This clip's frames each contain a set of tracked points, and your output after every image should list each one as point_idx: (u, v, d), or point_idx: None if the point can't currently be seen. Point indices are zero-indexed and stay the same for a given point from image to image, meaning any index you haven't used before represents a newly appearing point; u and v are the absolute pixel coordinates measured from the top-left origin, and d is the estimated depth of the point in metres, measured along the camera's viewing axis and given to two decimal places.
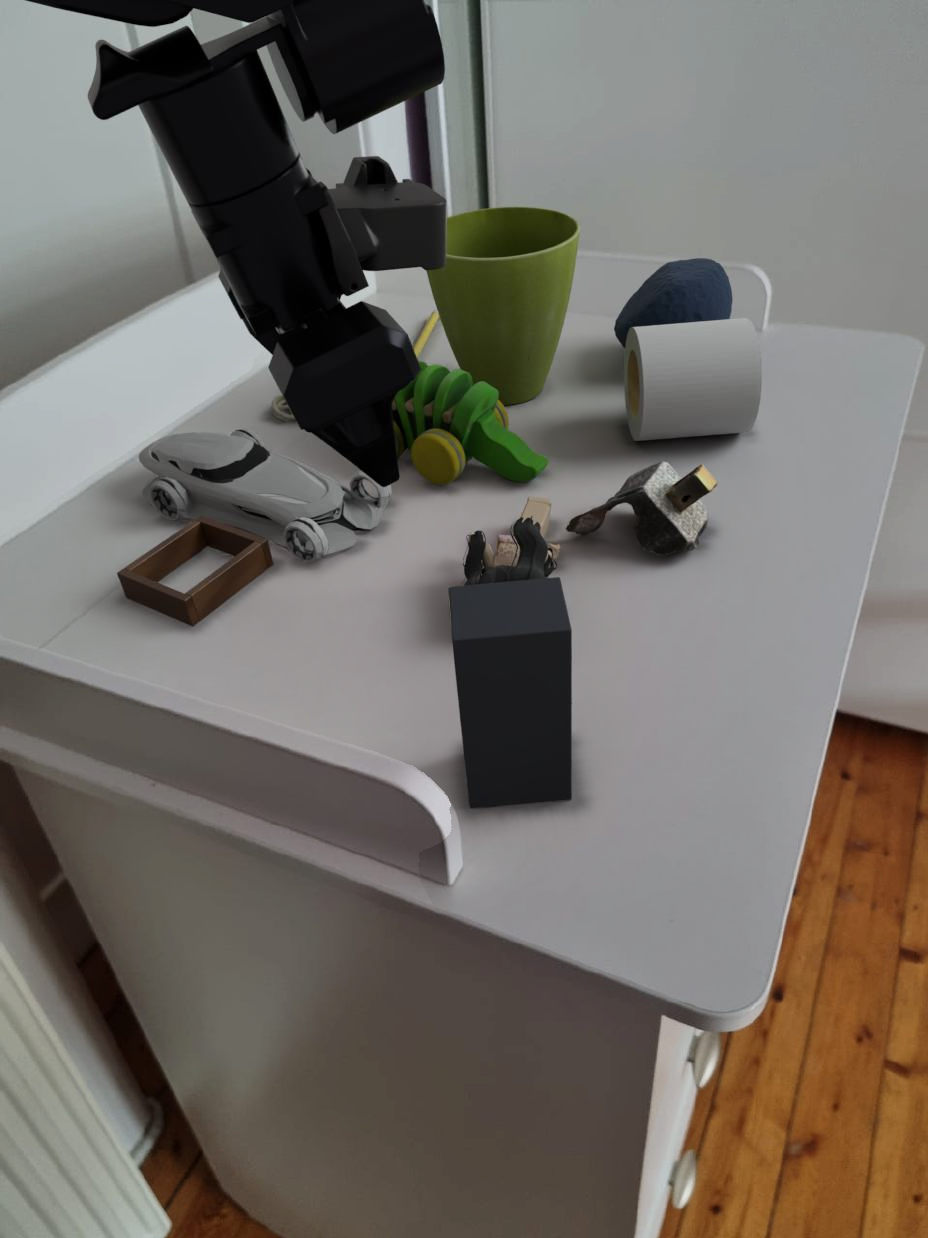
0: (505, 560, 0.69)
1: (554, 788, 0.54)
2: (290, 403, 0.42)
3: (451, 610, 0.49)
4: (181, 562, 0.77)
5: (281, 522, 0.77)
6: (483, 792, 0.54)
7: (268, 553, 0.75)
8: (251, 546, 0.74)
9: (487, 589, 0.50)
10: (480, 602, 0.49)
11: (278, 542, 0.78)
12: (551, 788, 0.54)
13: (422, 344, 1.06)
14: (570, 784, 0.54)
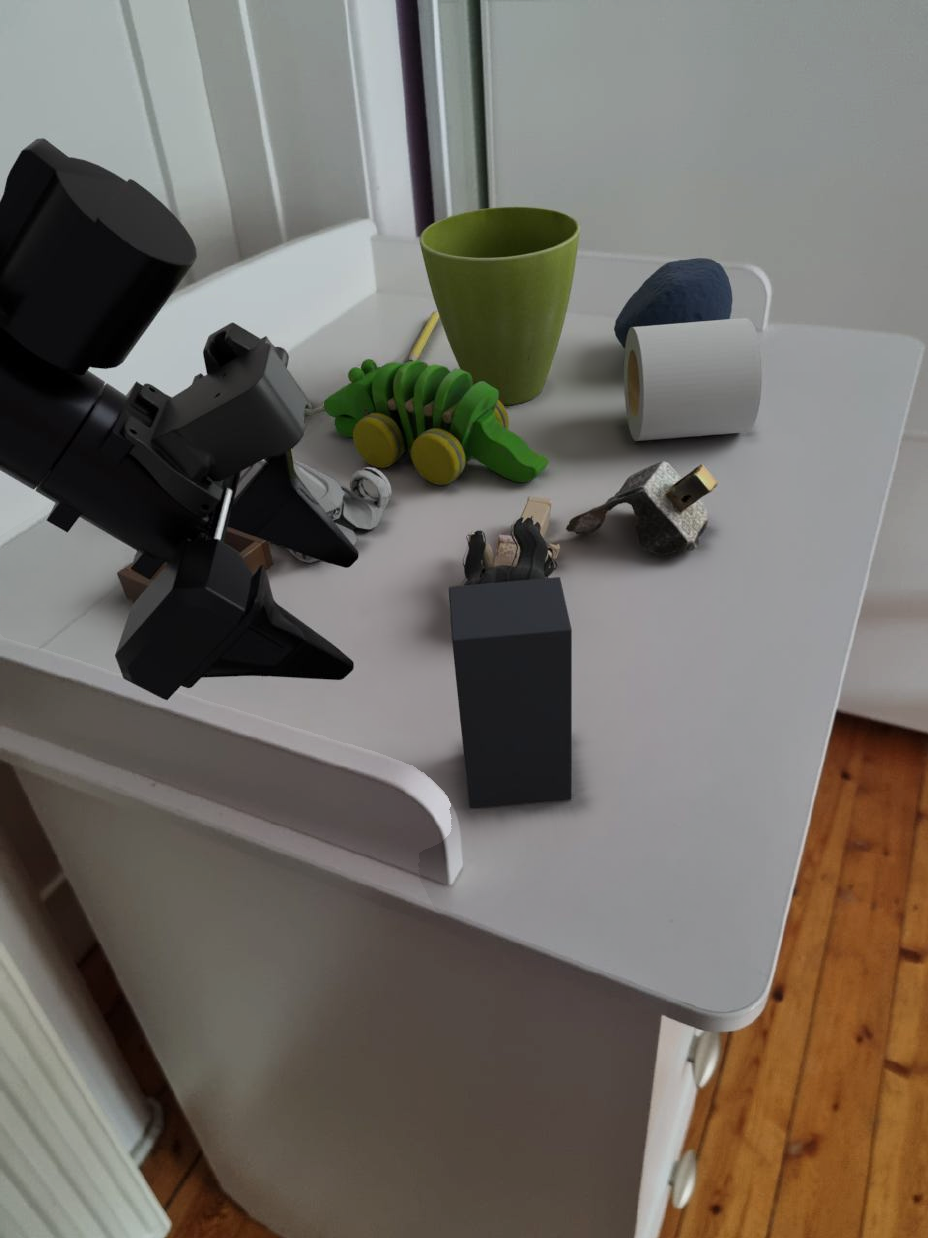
0: (505, 560, 0.69)
1: (554, 788, 0.54)
2: (133, 683, 0.39)
3: (451, 610, 0.49)
4: None
5: None
6: (483, 792, 0.54)
7: (268, 553, 0.75)
8: (251, 546, 0.74)
9: (487, 589, 0.50)
10: (480, 602, 0.49)
11: None
12: (551, 788, 0.54)
13: (422, 345, 1.06)
14: (570, 784, 0.54)
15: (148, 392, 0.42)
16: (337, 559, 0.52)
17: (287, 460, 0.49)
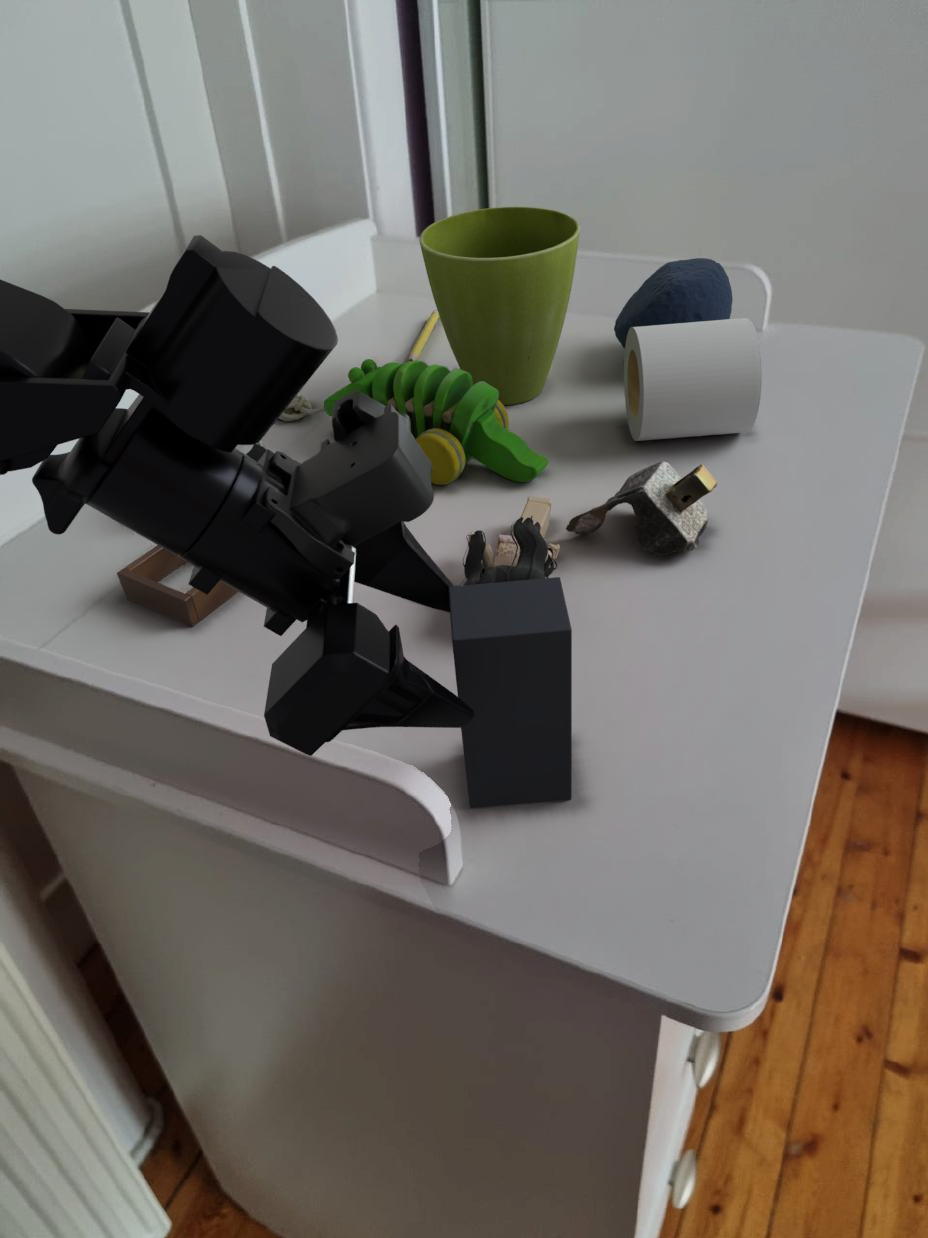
0: (505, 560, 0.69)
1: (554, 788, 0.54)
2: (278, 740, 0.41)
3: (451, 610, 0.49)
4: (181, 562, 0.77)
5: None
6: (483, 792, 0.54)
7: None
8: None
9: (487, 589, 0.50)
10: (480, 602, 0.49)
11: None
12: (551, 788, 0.54)
13: (422, 344, 1.06)
14: (570, 784, 0.54)
15: (280, 460, 0.45)
16: (444, 605, 0.54)
17: None
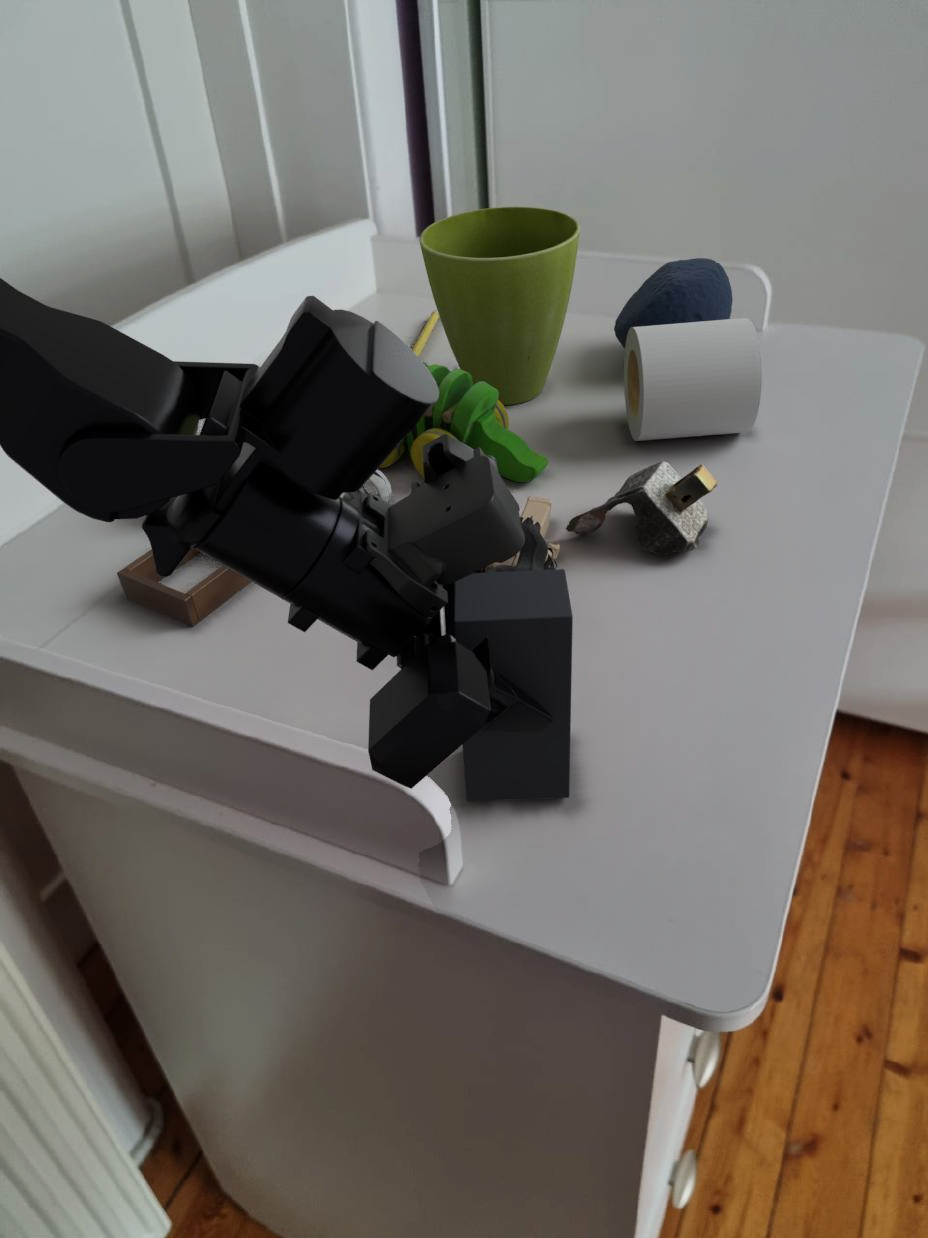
0: None
1: (552, 784, 0.54)
2: None
3: (455, 595, 0.50)
4: (181, 562, 0.77)
5: None
6: (480, 784, 0.54)
7: None
8: None
9: (492, 577, 0.51)
10: (484, 588, 0.50)
11: None
12: (549, 784, 0.54)
13: (422, 344, 1.06)
14: (568, 781, 0.54)
15: (373, 502, 0.46)
16: None
17: None
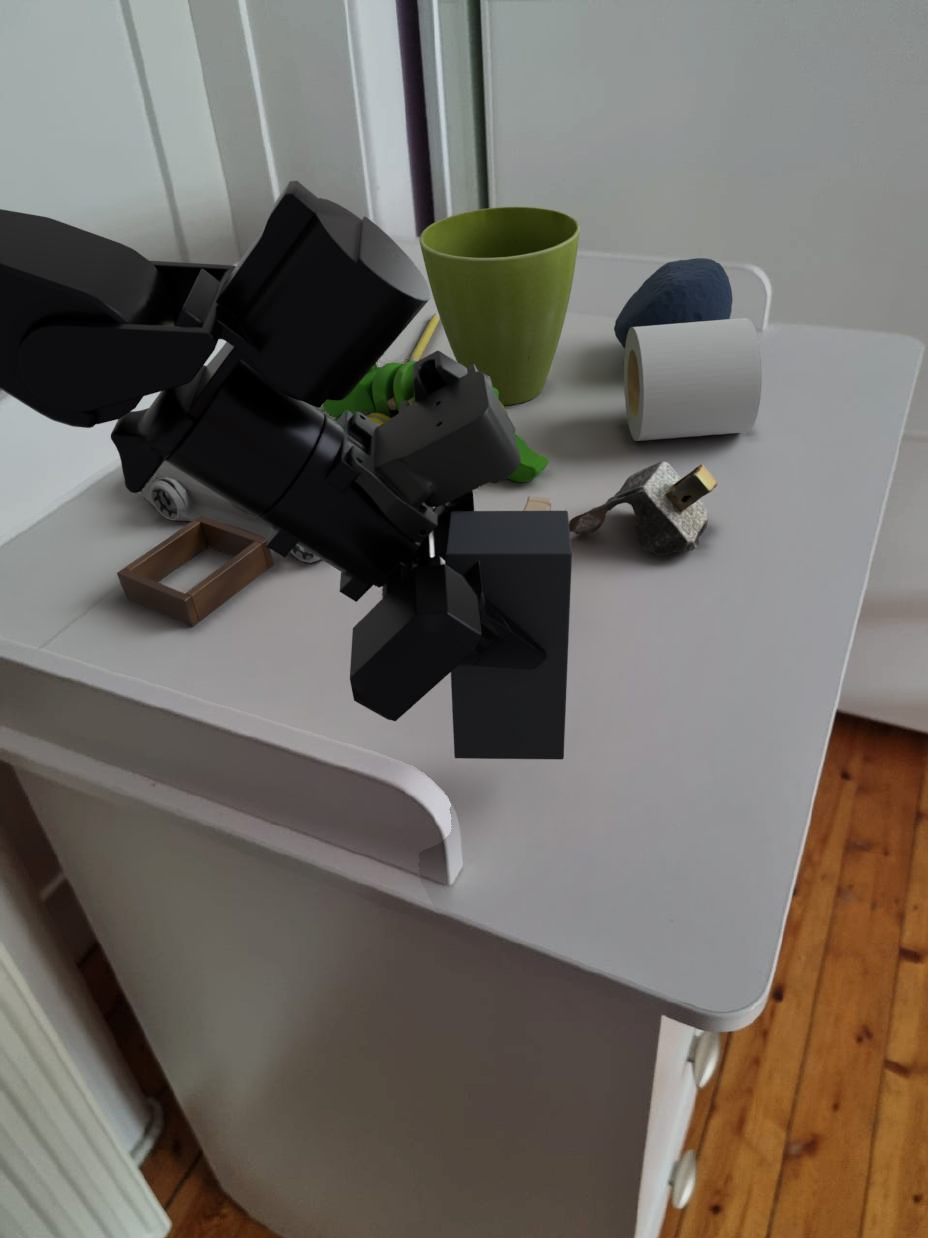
0: None
1: (545, 743, 0.51)
2: None
3: (449, 529, 0.47)
4: (181, 562, 0.77)
5: None
6: (470, 740, 0.51)
7: (268, 553, 0.75)
8: (251, 546, 0.74)
9: (490, 515, 0.48)
10: (480, 525, 0.47)
11: None
12: (542, 742, 0.51)
13: (423, 347, 1.07)
14: (563, 740, 0.51)
15: (360, 420, 0.43)
16: None
17: (473, 502, 0.48)
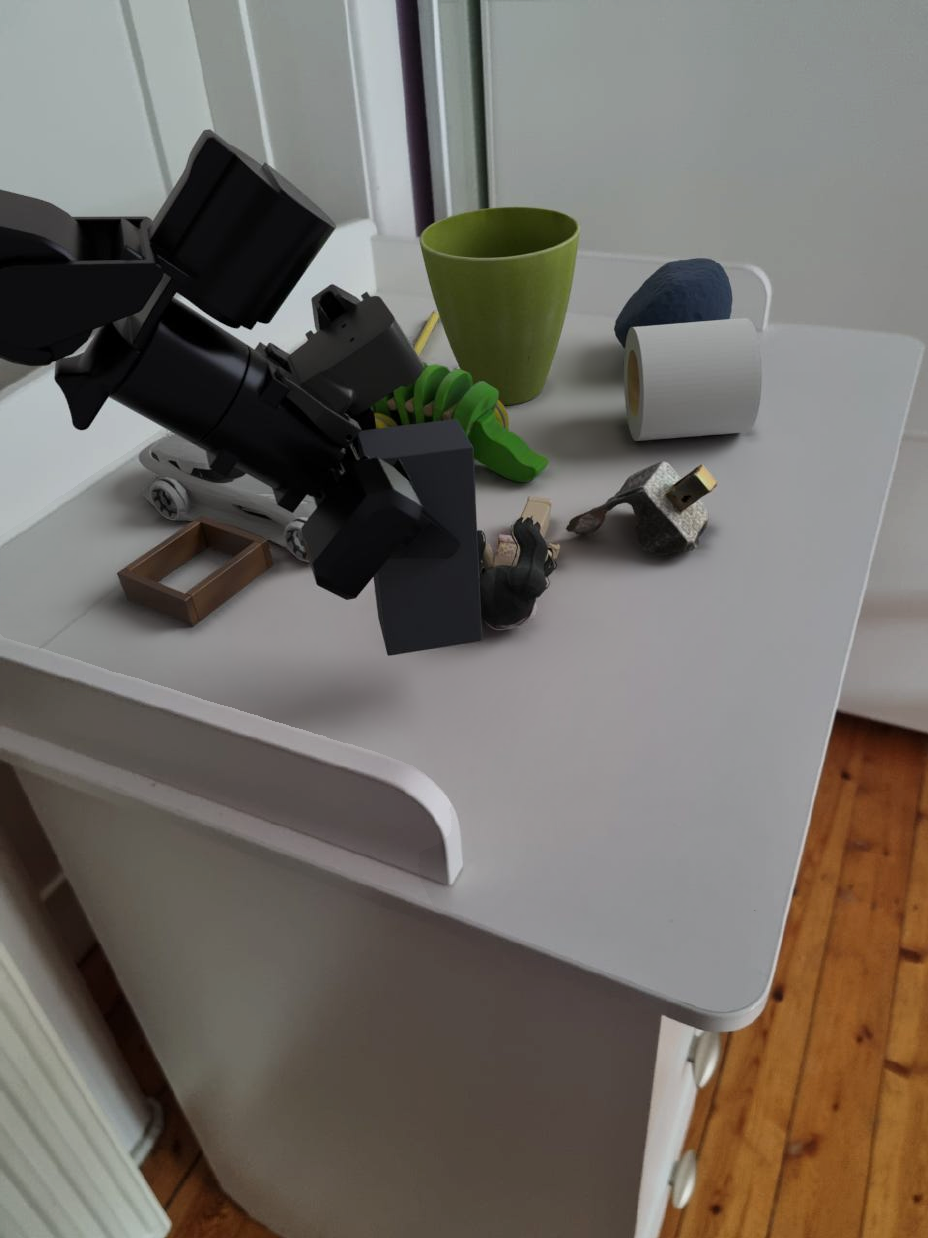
0: (505, 560, 0.69)
1: (466, 628, 0.58)
2: (325, 588, 0.46)
3: (361, 444, 0.53)
4: (181, 562, 0.77)
5: (281, 522, 0.77)
6: (400, 635, 0.57)
7: (268, 553, 0.75)
8: (251, 546, 0.74)
9: (392, 429, 0.55)
10: (387, 437, 0.54)
11: (278, 542, 0.78)
12: (463, 627, 0.58)
13: (422, 344, 1.06)
14: (480, 622, 0.58)
15: (275, 349, 0.49)
16: None
17: (374, 421, 0.55)
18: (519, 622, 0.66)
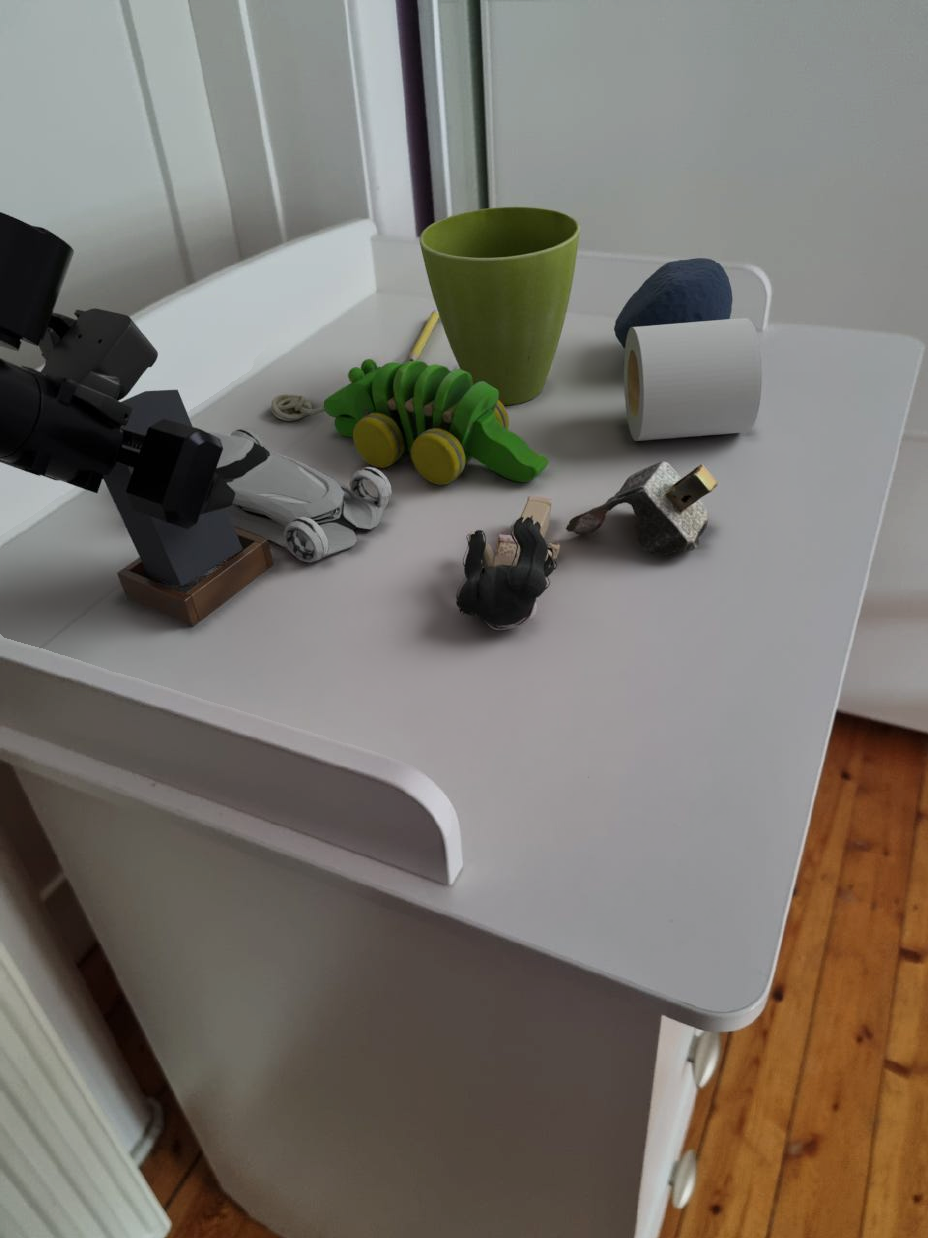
0: (505, 560, 0.69)
1: (227, 542, 0.72)
2: (173, 523, 0.59)
3: None
4: None
5: (281, 522, 0.77)
6: (183, 565, 0.70)
7: (268, 553, 0.75)
8: (251, 546, 0.74)
9: None
10: None
11: (278, 542, 0.78)
12: (225, 542, 0.72)
13: (422, 344, 1.06)
14: (236, 534, 0.73)
15: None
16: None
17: None
18: (519, 622, 0.66)
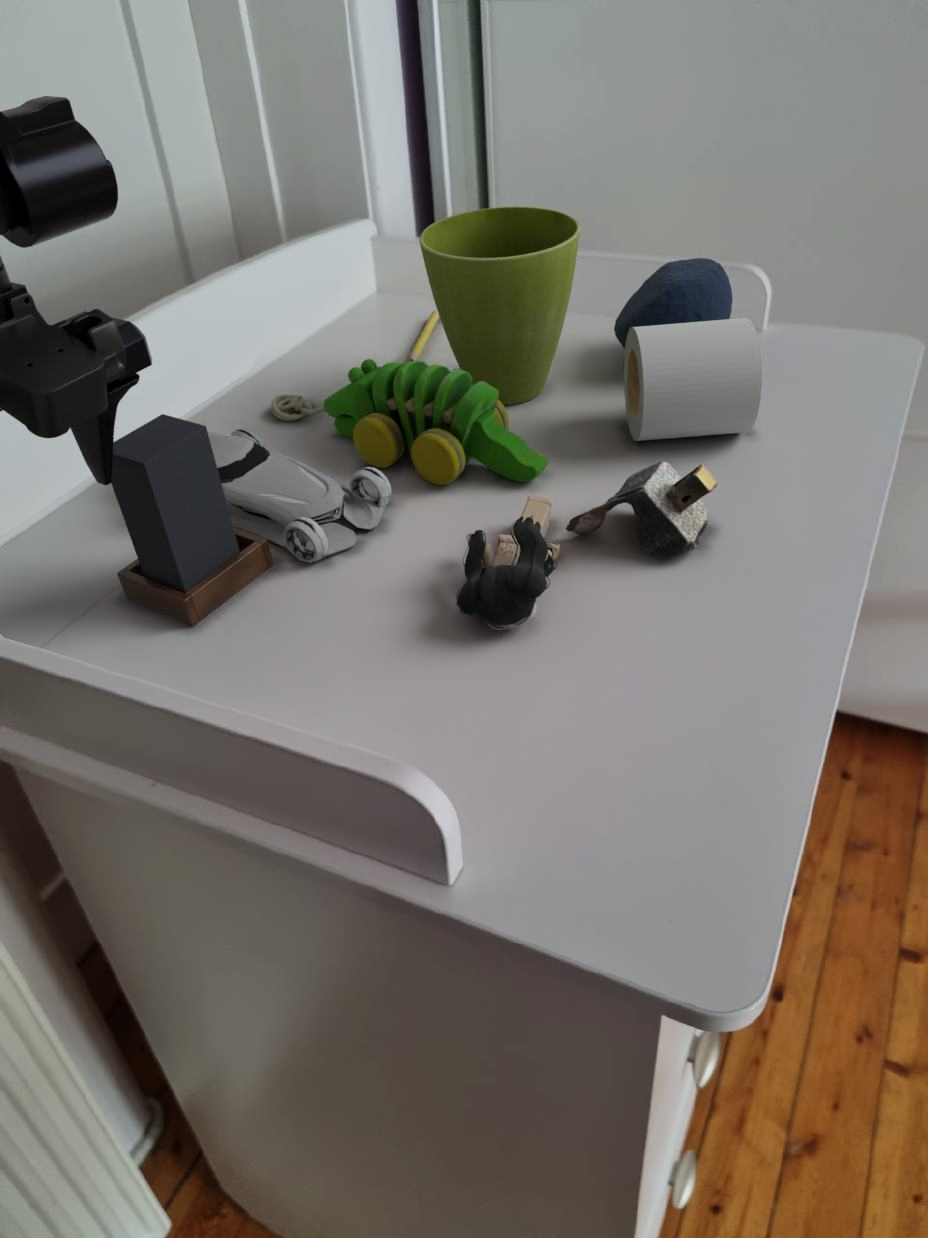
0: (505, 560, 0.69)
1: None
2: None
3: (120, 456, 0.65)
4: None
5: (281, 522, 0.77)
6: None
7: (268, 553, 0.75)
8: (251, 546, 0.74)
9: (127, 438, 0.67)
10: (132, 444, 0.66)
11: (278, 542, 0.78)
12: None
13: (422, 344, 1.06)
14: None
15: (20, 301, 0.52)
16: (94, 472, 0.63)
17: None
18: (519, 622, 0.66)
